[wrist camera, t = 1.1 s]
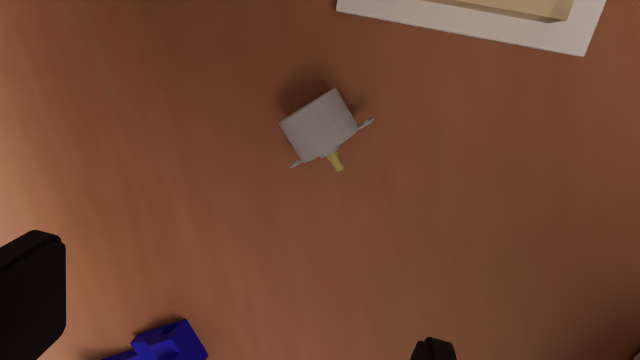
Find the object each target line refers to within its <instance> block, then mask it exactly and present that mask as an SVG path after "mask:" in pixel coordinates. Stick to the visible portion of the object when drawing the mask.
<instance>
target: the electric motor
mask: <svg viewBox="0 0 640 360" xmlns="http://www.w3.org/2000/svg"><path fill="white" fill-rule="evenodd" d="M372 121H374V118H371V119H369V120H367V121H365V122H363V123H361V124H359V125H357V123H356V121H355V120H354V118H353V116H352V115H351V113H350V111H349V109H348V108H347V106H346V104H345V103H344V101H343V99H342V97H341V96H340V94H339V92H338V91H337V89H336V88H333V89H331V90H330V91H328V92H326V93H325V94H323V95H321V96H320V97H318V98H316V99H315V100H313V101H312V102H310V103H308V104H307V105H305V106H304V107H302V108H300V109H299V110H297V111H296V112H294V113H292V114H291V115H289V116H288V117H286V118H285V119H284V120H282V121H281V122H279V126H280V127H281V129H282V131H283V132H284V134H285V135H286V137H287V138H288V140H289V142H290V143H291V145H292V146H293V148H294V150H295V151H296V153H297V154H298V156H299V157H300V159H299V160H297V161H295V162H294V163H293V164H291V165H290V166H289V168H293V167H295V166H297V165H298V164H300V163H302V162H303V163H305V162H309V161H311V160H314V159H316V158H317V157H319V156H320V158H323V157H326V158H327V159H328V160H330V161H331V163H332V164H333V166H334V168H335V169H336V171H337V172H339V171H342V170H343V169H344V165H343V163H342V162H341V160H340V158H339V157H338V154H339V153H338V152H337V149H338V148H339V147H340V144H341V143H343V142H345V141H346V140H347V139H349V138H350V137H351V136H353V135H354V134H355V133H356V132H357V130H359V129H361V128H363V127H365V126H366V125H368V124H370V123H371V122H372Z"/></svg>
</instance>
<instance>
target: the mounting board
mask: <svg viewBox="0 0 640 360" xmlns="http://www.w3.org/2000/svg"><path fill="white" fill-rule="evenodd" d="M605 3H606V0H338V1H337V6H336V11H337V12H340V13H345V14H351V15H356V16H361V17H367V18H372V19H377V20H383V21H388V22H394V23H399V24H404V25H410V26H415V27H420V28H426V29H431V30H436V31H442V32H447V33H453V34H458V35H463V36H469V37H474V38H479V39H485V40H490V41H495V42H501V43H506V44H512V45H517V46H522V47H528V48H533V49H538V50H544V51H549V52H554V53H560V54H565V55H571V56H576V57H584V56H585V53H586V51H587V48H588V46H589V43H590V41H591V38H592V36H593V33H594V31H595V28H596V25H597V23H598V20H599V18H600V15H601V13H602V10H603V8H604V5H605Z"/></svg>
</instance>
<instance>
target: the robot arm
mask: <svg viewBox="0 0 640 360" xmlns="http://www.w3.org/2000/svg"><path fill="white" fill-rule="evenodd" d="M65 326H66V248H65V245H64V244H63V243H62V242H61V239H60V237H59V236H57V235H54V234H50V233H46V232H43V231H39V230H32V231H29V232H27V233H26V234H24V235H22V236H20V237H18V238H17V239H15V240H13V241H11V242H9V243H8V244H6V245H4V246H2V247H0V360H37V359H38V358H39V357H40V356H41V355H42V354H43V353H44V352H45V351H46V350H47V349H48V348H49V347H50V346H51V345H52V344H53V343H54V342H55V341H56V340H57V339H58V338H59V337H60V336H61V335H62V333H63V331H64V329H65ZM410 360H457V358H456V355H455V351H454V348H453V345H452V344H451V343H450V342H446V341H443V340H439V339H435V338H432V337H427V338H426V340H425V342H423V341H418V342H417V344H416V347H415V349H414V352H413V354H412V356H411V359H410ZM633 360H640V352H639V353H638V354H637V355H636V356H635V357H634V359H633Z"/></svg>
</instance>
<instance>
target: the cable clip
mask: <svg viewBox="0 0 640 360" xmlns="http://www.w3.org/2000/svg"><path fill="white" fill-rule="evenodd" d="M130 344H131V346H132V347H133V349H134V350H130V351H127V352H124V353H121V354H117V355H114V356H111V357H108V358H105V359H101V360H206V358H207V357H208V353H207V352H206V350H205V348H204V347H203V345H202V344H201V342H200V340H199V339H198V337H197V335H196V334H195V332H194V331H193V329H192V327H191V326H190V324H189V323H188V321H187V319H184V320H181V321H177V322H174V323H171V324H168V325H165V326H162V327H159V328H156V329H152V330H149V331H146V332H143V333H140V334H138V335H137V336H136V337H135V338H134V339H133V340H132V342H131V343H130Z"/></svg>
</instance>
